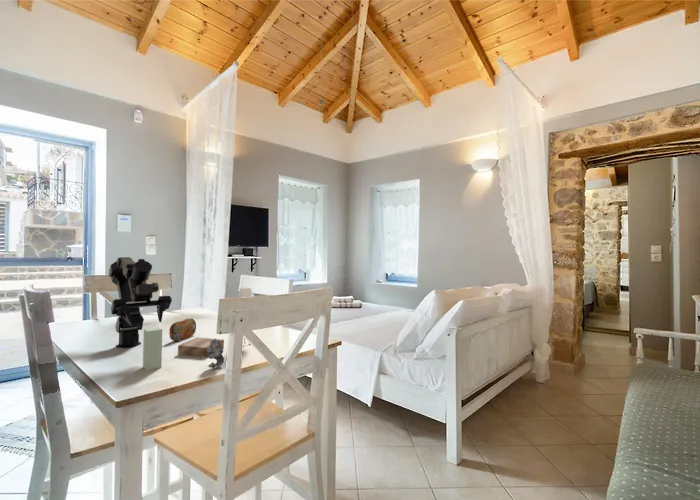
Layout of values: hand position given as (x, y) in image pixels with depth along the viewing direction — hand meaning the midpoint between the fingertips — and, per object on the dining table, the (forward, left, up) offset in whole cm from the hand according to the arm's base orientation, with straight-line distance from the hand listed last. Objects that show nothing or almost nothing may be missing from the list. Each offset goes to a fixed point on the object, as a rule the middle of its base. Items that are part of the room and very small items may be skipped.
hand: (146, 323), depth 123 cm
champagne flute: (+23, +29, -14) cm, 40 cm away
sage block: (+7, -5, -14) cm, 16 cm away
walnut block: (+12, +15, -14) cm, 24 cm away
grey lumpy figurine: (+27, 0, -14) cm, 30 cm away
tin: (-7, +30, -14) cm, 34 cm away
